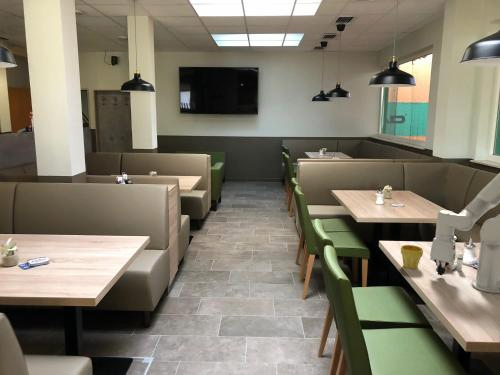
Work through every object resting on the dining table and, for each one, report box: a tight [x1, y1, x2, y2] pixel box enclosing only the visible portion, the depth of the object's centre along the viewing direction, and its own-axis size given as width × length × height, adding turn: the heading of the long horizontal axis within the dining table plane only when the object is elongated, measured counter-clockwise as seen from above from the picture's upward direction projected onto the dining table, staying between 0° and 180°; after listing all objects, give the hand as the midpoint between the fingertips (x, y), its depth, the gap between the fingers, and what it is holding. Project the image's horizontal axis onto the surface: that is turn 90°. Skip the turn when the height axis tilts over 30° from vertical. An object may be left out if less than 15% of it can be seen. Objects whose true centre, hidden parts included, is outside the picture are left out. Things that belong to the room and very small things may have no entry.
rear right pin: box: [455, 252, 464, 272], centre depth 200 cm, size 2×2×8 cm
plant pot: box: [400, 244, 424, 270], centre depth 204 cm, size 10×10×10 cm
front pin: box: [448, 260, 457, 271], centre depth 204 cm, size 2×2×8 cm
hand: (440, 274), depth 192 cm, fingers closed
